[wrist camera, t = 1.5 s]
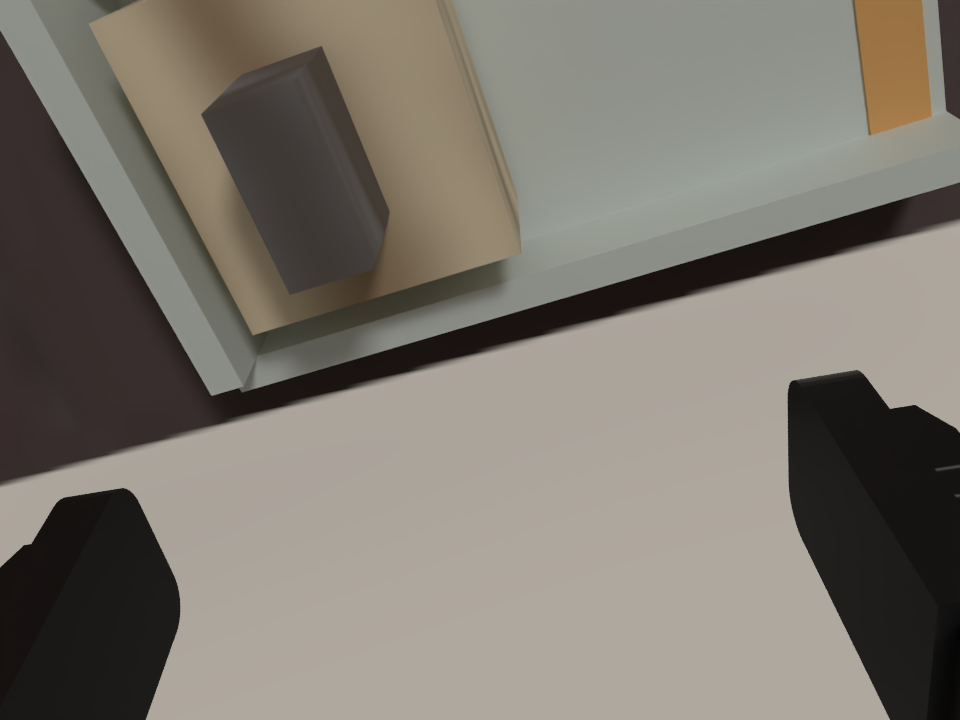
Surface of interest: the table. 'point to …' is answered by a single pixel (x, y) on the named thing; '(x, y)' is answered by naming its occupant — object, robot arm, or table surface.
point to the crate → (319, 144)
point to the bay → (558, 153)
